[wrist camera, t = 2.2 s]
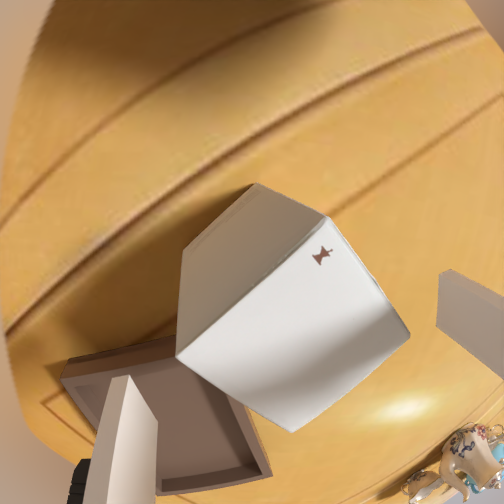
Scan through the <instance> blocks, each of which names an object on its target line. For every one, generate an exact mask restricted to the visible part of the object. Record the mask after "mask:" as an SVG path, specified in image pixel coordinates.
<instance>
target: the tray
mask: <svg viewBox="0 0 504 504" xmlns="http://www.w3.org/2000/svg"><path fill="white" fill-rule="evenodd" d="M176 336H177V335H173V336H169V337H165V338H161V339H157V340H153V341H149V342H144V343H140V344H136V345H132V346H127V347H123V348H118V349H114V350H109V351H105V352H100V353H95V354H91V355H86V356H81V357H76V358H71V359H69V360H68V362H67V364H66V366H65V368H64V370H63V372H62V374H61V376H60V379H59V380H60V381H61V383H62V384H63V386H64V387H65V389H66V390H67V392H68V393H69V395H70V396H71V398H72V399H73V400H74V402H75V403H76V405H77V406H78V407H79V409H80V410H81V411H82V413H83V414H84V415H85V417H86V418H87V419H88V421H89V422H90V423H91V425H92V426H93V427H94V428H95V430H96V431H97V432H98V428H99V424H100V420H101V416H102V412H103V408H104V405H105V401H106V397H107V394H108V390H109V387H110V383H111V380H112V378H114V377H120V376H125V375H130V377H131V378H132V380H133V382H134V384H135V385H136V387H137V389H138V390H139V392H140V394H141V395H142V397H143V399H144V400H145V402H146V404H147V405H148V407H149V409H150V410H151V412H152V413H153V415H154V416H155V418H156V419H157V421H158V432H157V452H156V485H155V494H156V495H157V496H167V495H177V494H186V493H193V492H200V491H207V490H213V489H218V488H224V487H229V486H234V485H239V484H243V483H248V482H252V481H256V480H260V479H264V478H268V477H272V476H273V473H272V470H271V467H270V463H269V460H268V456H267V454H266V452H265V449H264V447H263V444H262V442H261V439H260V437H259V434H258V432H257V429H256V427H255V424H254V422H253V419H252V417H251V414H250V412H249V409H248V407H247V406H245V405H243V404H242V403H240V402H239V401H237V400H235V399H234V398H232V397H231V396H229V395H228V394H226V393H225V392H223V391H222V390H220V389H219V388H217V387H216V386H214V385H213V384H211V383H210V382H209V381H207V380H206V379H204V378H203V377H201V376H200V375H198V374H197V373H196V372H194V371H193V370H192V369H190V368H189V367H187V366H186V365H184V364H183V363H182V362H180V361H179V360H178V359H177V358H176V357H175V354H176Z"/></svg>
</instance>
